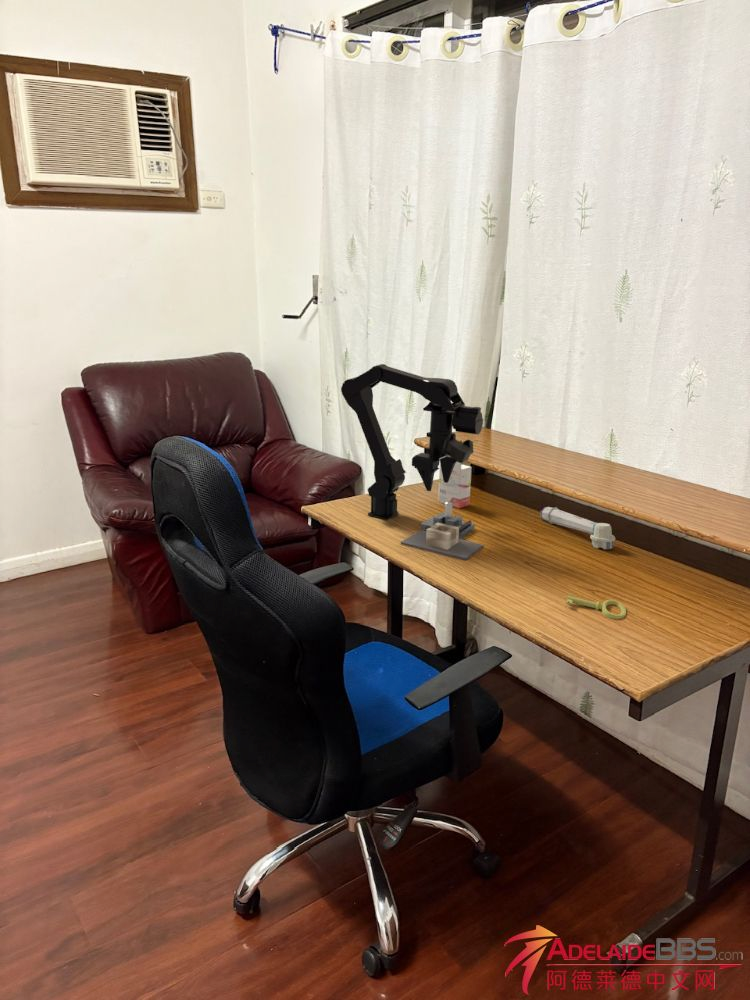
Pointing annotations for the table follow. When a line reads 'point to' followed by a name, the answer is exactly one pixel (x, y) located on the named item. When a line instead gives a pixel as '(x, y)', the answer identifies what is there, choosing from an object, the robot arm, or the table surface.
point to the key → (599, 606)
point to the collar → (442, 536)
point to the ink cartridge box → (456, 486)
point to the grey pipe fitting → (581, 526)
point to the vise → (449, 521)
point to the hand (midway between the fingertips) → (437, 486)
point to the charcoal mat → (457, 551)
